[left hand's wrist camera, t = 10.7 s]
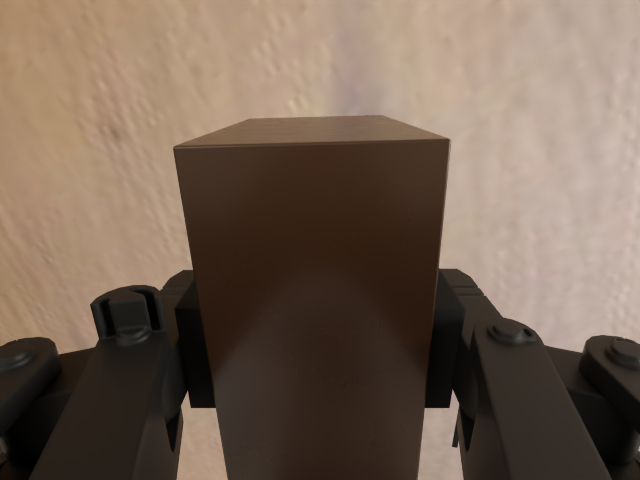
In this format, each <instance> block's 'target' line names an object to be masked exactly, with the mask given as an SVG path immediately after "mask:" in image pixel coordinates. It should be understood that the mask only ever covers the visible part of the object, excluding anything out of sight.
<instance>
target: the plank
mask: <svg viewBox="0 0 640 480" xmlns="http://www.w3.org/2000/svg"><path fill="white" fill-rule="evenodd" d="M450 147H451V140H450V139H448V138H445V137H442V136H440V135H437V134H434V133H431V132H428V131H425V130H423V129H420V128H417V127H414V126H411V125H408V124H405V123H403V122H400V121H397V120H394V119H391V118H388V117H385V116H383V115H372V116H335V117H298V118H261V119H248V120H245V121H243V122H240V123H237V124H234V125H231V126H229V127H226V128H223V129H220V130H218V131H215V132H212V133H209V134H207V135H204V136H201V137H198V138H196V139H193V140H190V141H187V142H185V143H182V144H179V145H176V146H174V148H173V151H174V157H175V163H176V169H177V175H178V181H179V187H180V193H181V199H182V205H183V211H184V217H185V223H186V230H187V236H188V242H189V248H190V254H191V260H192V266H193V272H194V278H195V284H196V290H197V296H198V302H199V308H200V314H201V320H202V326H203V332H204V338H205V344H206V351H207V357H208V363H209V369H210V375H211V381H212V387H213V393H214V399H215V405H216V411H217V417H218V423H219V429H220V435H221V441H222V447H223V453H224V459H225V465H226V471H227V478H228V480H418V470H419V460H420V450H421V440H422V430H423V419H424V409H425V399H426V389H427V379H428V369H429V359H430V349H431V339H432V329H433V319H434V309H435V298H436V288H437V278H438V268H439V258H440V248H441V238H442V228H443V218H444V208H445V198H446V188H447V178H448V167H449V157H450Z"/></svg>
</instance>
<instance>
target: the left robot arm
mask: <svg viewBox="0 0 640 480" xmlns="http://www.w3.org/2000/svg"><path fill="white" fill-rule="evenodd" d="M90 306H91V310H92V314H93V318H94V322H95V325H96V329H97V333H98V337H99V340H98V342H97V344H96V346H95V347H94V348H90V349H85V350H80V351H75V352H70V353H65V354H59V355H58V351H57V348H56V345H55V343H54V342H53V341H52V340H50V339H49V338H43V337H33V338H23V339H18V340H17V341H16V340H14V341H11V342H8V343H6V344H5V345H3V346H0V445H1V448H2V450H3V452H2V453H1V454H0V480H176V479H177V471H178V463H179V454H180V446H181V438H182V430H183V415H182V410H181V404H182V402H183V400H184V398H185V395H186V393H187V391H188V394H189V400H190V405H191V408H216V405H215V399H214V393H213V387H212V381H211V375H210V369H209V363H208V357H207V351H206V344H205V338H204V332H203V326H202V320H201V314H200V308H199V302H198V296H197V290H196V284H195V278H194V272H193V270H183V271H181V272H179V273H178V274H176V275H174V276H173V277H171V278H170V279H169V280H168V281H167V283H166V284H165V285H164V286H163V289H161V290H160V291H159V290H158V289H156V288H155V287H152V286H147V285H132V286H127V287H121V288H118V289H115V290H112V291H109V292H107V293H105V294H103V295H101V296H99V297H98V298H96V299H95V300H94V301H93V302H92V303H91V304H90ZM452 389H453V391H454V393H455V395H456V397H457V400H458V402H459V410H458V415H457V421H456V426H455V432H454V437H453V444H452V447H457V446H458V441H459V445H460V454H461V462H462V470H463V478H464V480H640V452H639V451H638V449H639V446H640V344H638V343H636V342H634V341H632V340H629V339H626V338H625V339H623V338H622V337H617V336H605V335H600V336H593V337H591V338H590V339H588V340H587V341H586V343H585V346H584V349H583V353H579V352H574V351H569V350H564V349H559V348H553V347H549V346H545V345H544V344H543V342H542V340H541V338H540V337H539V336H538V334H537V333H536V332H535V331H534V330H532V329H531V328H529V327H528V326H526V325H525V324H522V323H520V322H517V321H515V320H512V319H507V318H503V317H502V316H501V315H500V313H499V312H498V311H497V310H496V308H495V307H494V306H493V305H492V303H491V302H490V301H489V300H488V298H487V297H486V296H484V293H483V292H482V291H481V290H480V288H478V286H477V285H476V283H475V282H474V281H473V280H472V278H471V277H470V276H468V275H466V274H465V273H463V272H461V271H460V270H458V269H439V268H438V278H437V288H436V298H435V309H434V319H433V329H432V339H431V349H430V359H429V369H428V379H427V389H426V399H425V408H449V407H450V401H451V395H452Z"/></svg>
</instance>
